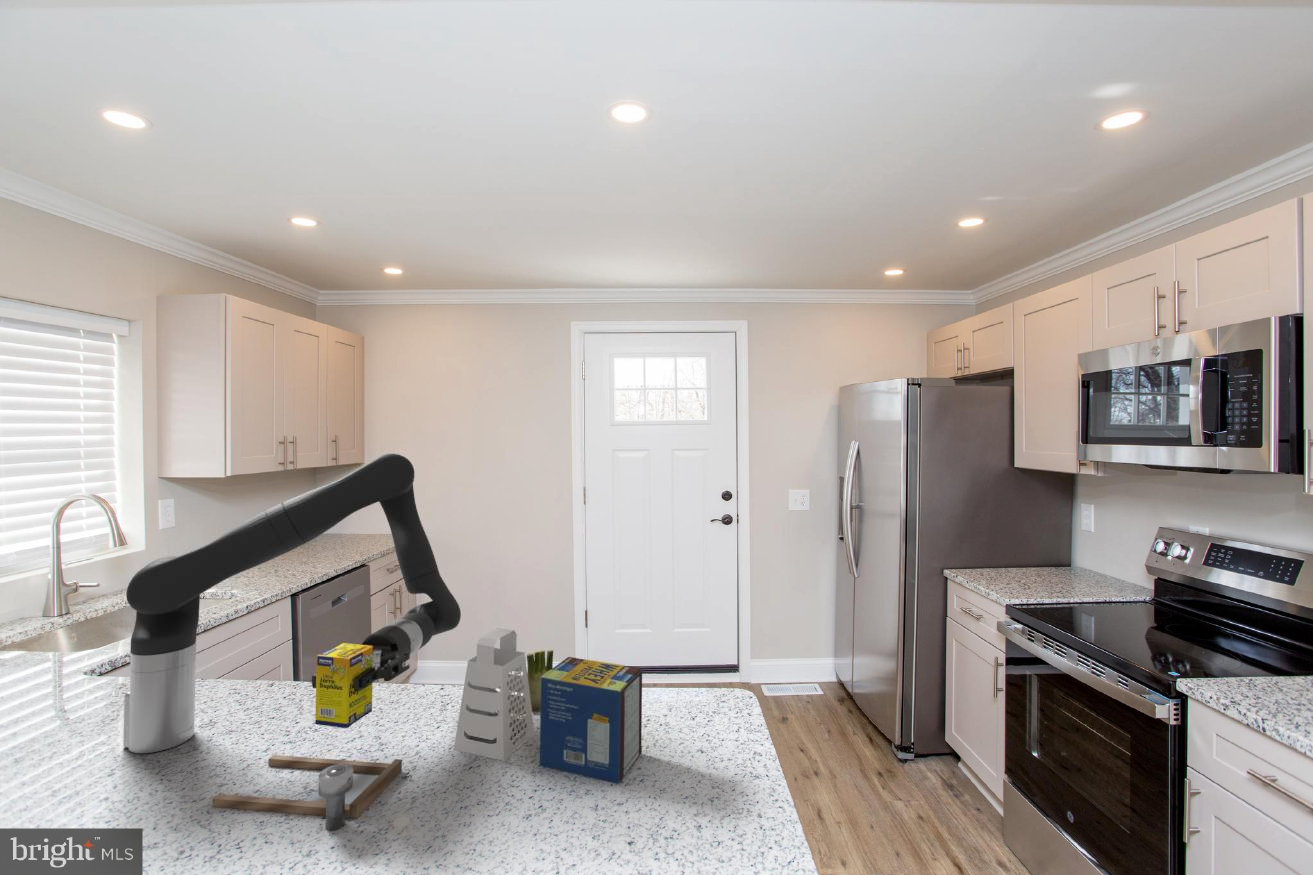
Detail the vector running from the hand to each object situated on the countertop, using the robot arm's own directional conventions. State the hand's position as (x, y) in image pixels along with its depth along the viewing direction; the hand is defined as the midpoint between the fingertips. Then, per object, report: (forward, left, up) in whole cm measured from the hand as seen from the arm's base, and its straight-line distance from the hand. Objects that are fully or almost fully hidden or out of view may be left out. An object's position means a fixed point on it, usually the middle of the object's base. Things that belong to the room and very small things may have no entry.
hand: (335, 683), depth 91 cm
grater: (+18, +20, -18) cm, 33 cm away
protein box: (+37, +16, -18) cm, 45 cm away
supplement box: (0, +2, -7) cm, 7 cm away
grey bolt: (+4, -6, -18) cm, 19 cm away
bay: (-6, +2, -18) cm, 19 cm away
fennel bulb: (+22, +34, -18) cm, 45 cm away
